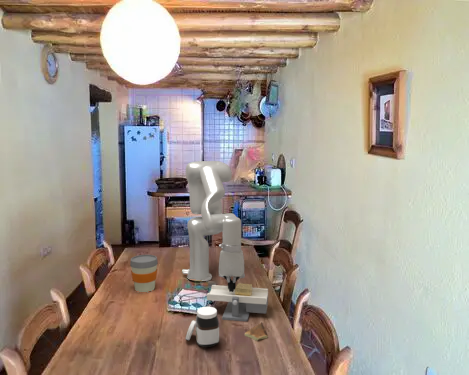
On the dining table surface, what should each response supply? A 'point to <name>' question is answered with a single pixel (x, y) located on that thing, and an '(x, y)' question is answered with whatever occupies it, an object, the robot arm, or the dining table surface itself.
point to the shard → (257, 332)
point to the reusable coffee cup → (144, 272)
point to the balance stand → (236, 311)
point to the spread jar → (205, 327)
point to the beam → (242, 298)
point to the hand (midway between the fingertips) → (231, 290)
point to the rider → (243, 289)
